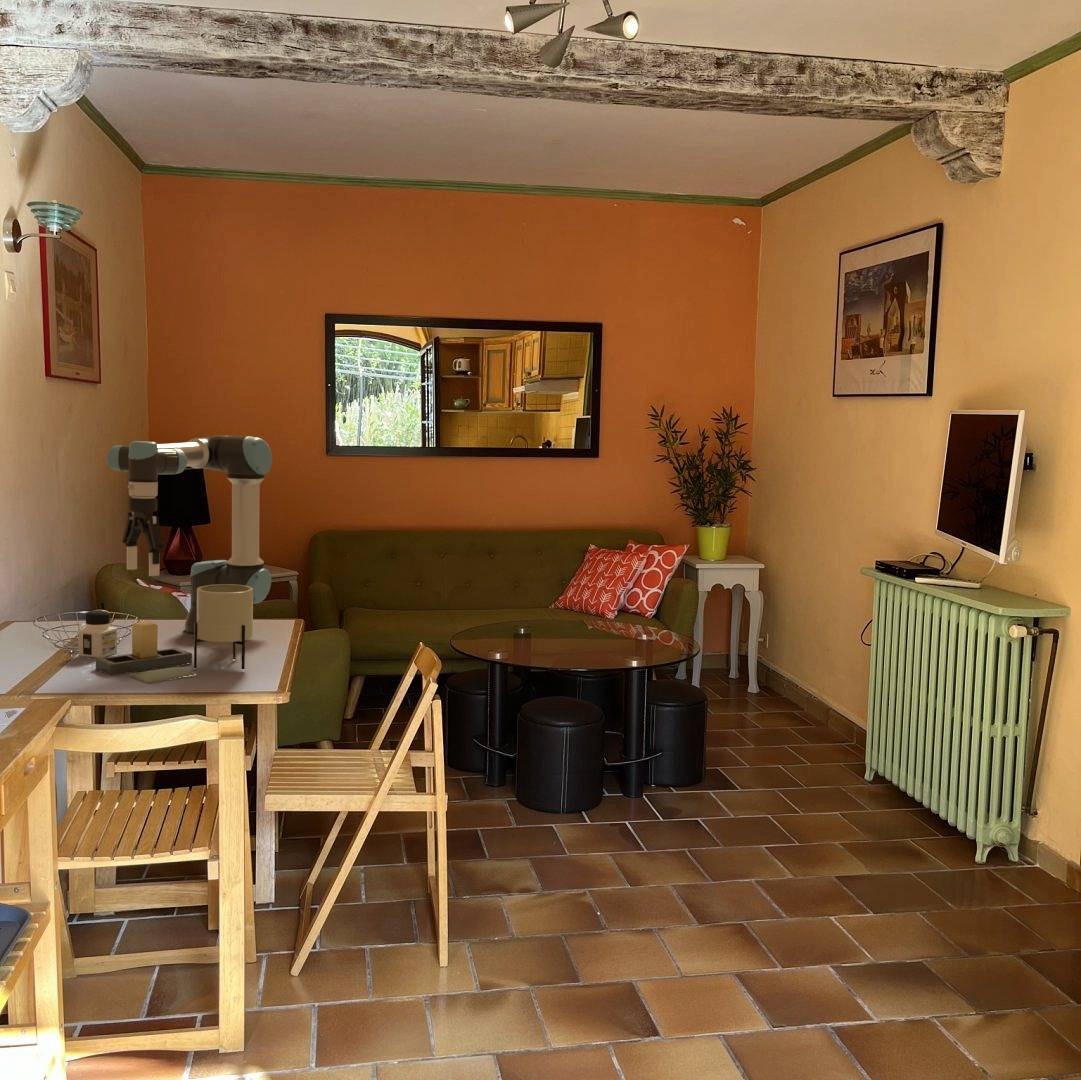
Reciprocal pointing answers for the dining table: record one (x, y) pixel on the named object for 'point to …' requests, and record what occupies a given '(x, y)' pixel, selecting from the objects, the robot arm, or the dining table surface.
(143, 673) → the mat
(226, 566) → the robot arm
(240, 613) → the planter
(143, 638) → the wooden block
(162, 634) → the dining table surface
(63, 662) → the dining table surface
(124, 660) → the grey compartment tray
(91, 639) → the container
